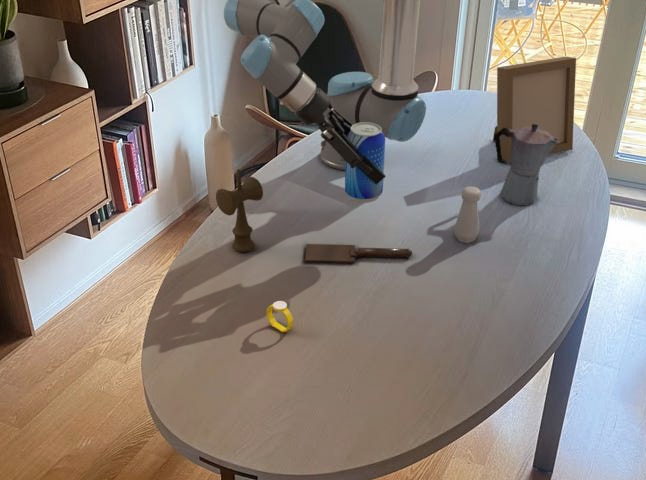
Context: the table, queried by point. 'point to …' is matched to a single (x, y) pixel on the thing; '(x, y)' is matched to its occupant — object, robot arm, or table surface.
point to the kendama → (240, 209)
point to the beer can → (373, 148)
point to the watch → (282, 307)
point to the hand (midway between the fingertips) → (379, 170)
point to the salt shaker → (468, 216)
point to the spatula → (348, 253)
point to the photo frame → (537, 100)
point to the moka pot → (524, 162)
